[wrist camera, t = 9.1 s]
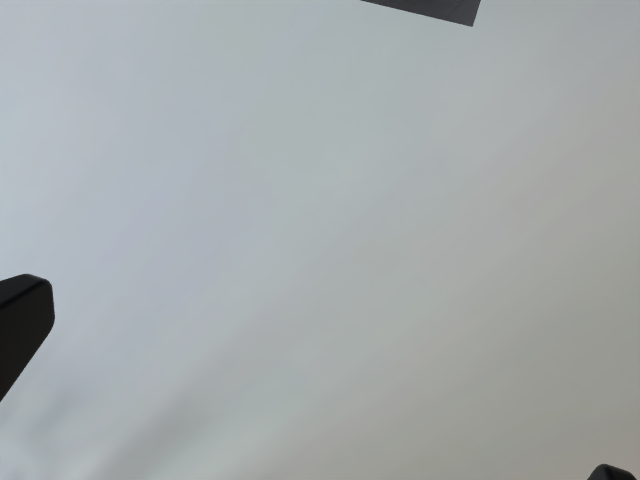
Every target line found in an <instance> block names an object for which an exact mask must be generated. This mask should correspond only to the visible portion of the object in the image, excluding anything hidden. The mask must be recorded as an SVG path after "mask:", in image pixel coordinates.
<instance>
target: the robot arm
mask: <svg viewBox="0 0 640 480" xmlns="http://www.w3.org/2000/svg"><path fill="white" fill-rule="evenodd" d="M54 320H55V312H54V302H53V291H52V285H51V284H50V282H49V281H48V280H46V279H43V278H40V277H37V276H34V275H31V274H22V275H18V276H15V277H12V278H8V279H5V280H2V281H0V402H1V401H2V399H3V398H4V397H5V395H6V394H7V392H8V391H9V390H10V388H11V387H12V385H13V384H14V383H15V381H16V380H17V378H18V377H19V375H20V374H21V373H22V371H23V370H24V368H25V367H26V366H27V364H28V363H29V361H30V360H31V358H32V357H33V356H34V354H35V353H36V351H37V350H38V349H39V347H40V346H41V344H42V343H43V341H44V340H45V339H46V337H47V336H48V334H49V333H50V331H51V329H52V327H53V325H54ZM587 480H637V479H636V478H635V477H634V476H633V475H632V474H631V473H630V472H628V471H626V470H623V469H620V468H617V467H614V466H611V465H608V464H600V465H599V466H597V467H596V468H595V470H594V471H593V472H592V474H591V475H590V477H589V478H588V479H587Z"/></svg>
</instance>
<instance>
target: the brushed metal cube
mask: <svg viewBox="0 0 640 480" xmlns="http://www.w3.org/2000/svg"><path fill="white" fill-rule="evenodd" d="M362 1H366V2H370V3H374V4H379V5H383V6H387V7H391V8H395V9H400V10H404V11H408V12H412V13H416V14H421V15H425V16H429V17H433V18H437V19H442V20H446V21H450V22H454V23H458V24H463V25H467V26H471V27H472V26H473V23H474V20H475V17H476V14H477V10H478V7H479V4H480V1H481V0H362Z"/></svg>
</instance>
